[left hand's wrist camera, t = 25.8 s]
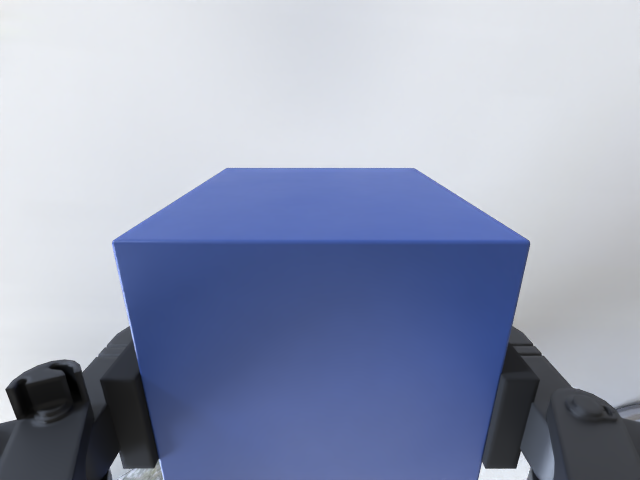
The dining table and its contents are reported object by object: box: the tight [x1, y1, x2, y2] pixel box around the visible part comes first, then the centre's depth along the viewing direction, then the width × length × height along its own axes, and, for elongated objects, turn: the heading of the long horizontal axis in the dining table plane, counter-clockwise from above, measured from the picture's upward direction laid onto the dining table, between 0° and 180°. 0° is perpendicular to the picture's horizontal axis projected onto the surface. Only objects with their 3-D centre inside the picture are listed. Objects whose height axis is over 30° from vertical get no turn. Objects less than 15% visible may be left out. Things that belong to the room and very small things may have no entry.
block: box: [112, 168, 530, 480], centre depth 12 cm, size 9×8×9 cm
